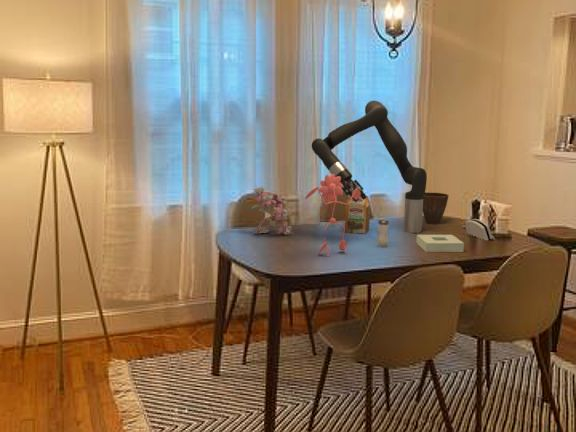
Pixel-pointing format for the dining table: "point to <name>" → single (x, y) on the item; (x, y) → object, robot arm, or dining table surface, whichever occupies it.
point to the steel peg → (383, 233)
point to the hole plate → (440, 243)
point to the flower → (277, 212)
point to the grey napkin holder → (478, 229)
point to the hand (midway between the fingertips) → (361, 199)
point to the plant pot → (434, 207)
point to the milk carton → (357, 216)
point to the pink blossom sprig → (331, 192)
